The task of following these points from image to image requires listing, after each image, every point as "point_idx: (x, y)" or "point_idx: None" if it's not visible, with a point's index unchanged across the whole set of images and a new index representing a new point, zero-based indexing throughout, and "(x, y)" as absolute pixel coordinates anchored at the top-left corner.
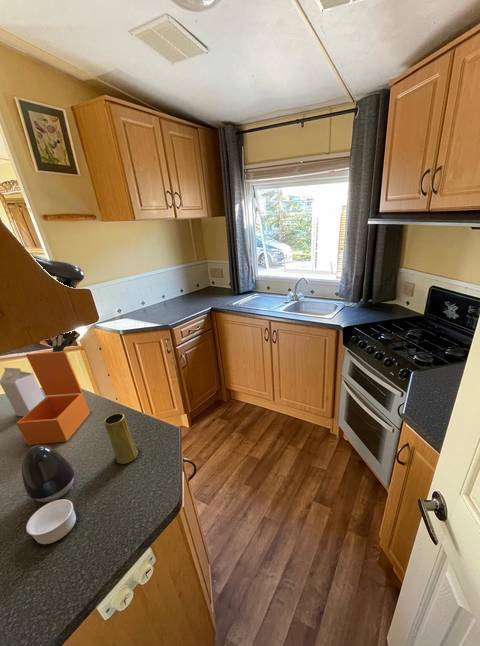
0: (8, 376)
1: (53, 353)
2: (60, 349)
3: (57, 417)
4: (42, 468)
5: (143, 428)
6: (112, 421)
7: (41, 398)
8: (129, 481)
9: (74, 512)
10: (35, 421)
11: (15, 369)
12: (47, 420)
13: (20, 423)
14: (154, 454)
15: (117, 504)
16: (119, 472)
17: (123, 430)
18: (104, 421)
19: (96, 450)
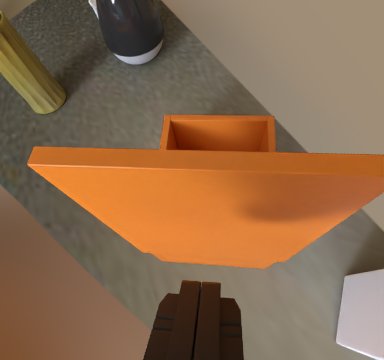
0: None
1: (130, 152)
2: (154, 344)
3: (168, 123)
4: None
5: (20, 168)
6: (2, 45)
7: (357, 336)
8: (44, 60)
9: (97, 16)
10: (221, 115)
11: None
12: (189, 115)
13: (262, 116)
14: (6, 100)
15: (57, 34)
16: (59, 74)
17: None
18: (2, 15)
19: (105, 120)
